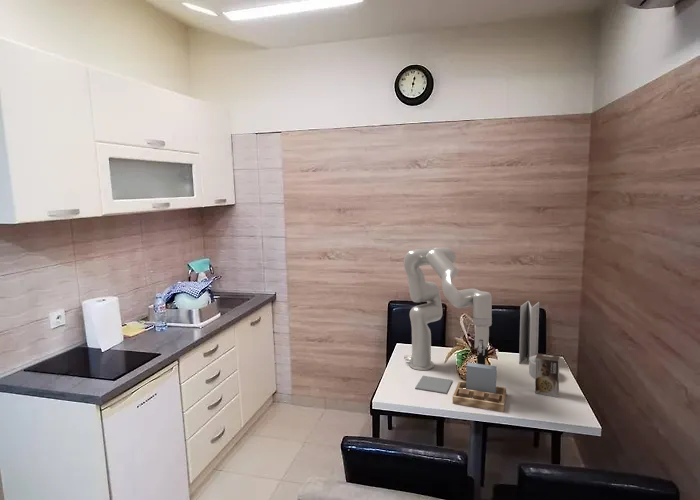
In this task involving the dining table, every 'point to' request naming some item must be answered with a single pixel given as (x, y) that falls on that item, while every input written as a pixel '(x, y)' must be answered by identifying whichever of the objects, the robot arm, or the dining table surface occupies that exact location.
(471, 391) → the tray
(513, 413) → the dining table surface
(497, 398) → the offcut
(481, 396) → the offcut
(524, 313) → the brochure
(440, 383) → the mat
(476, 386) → the panel
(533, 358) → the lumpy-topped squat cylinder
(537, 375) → the cookie box
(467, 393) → the offcut
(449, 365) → the dining table surface
